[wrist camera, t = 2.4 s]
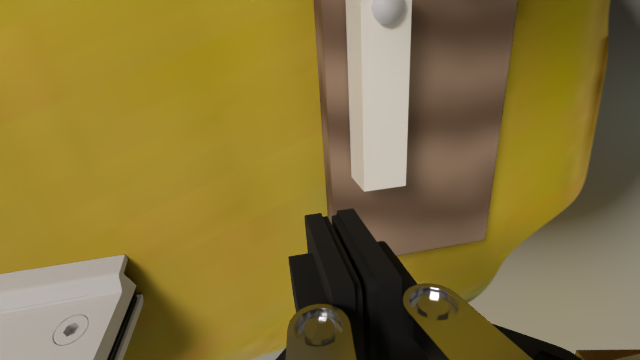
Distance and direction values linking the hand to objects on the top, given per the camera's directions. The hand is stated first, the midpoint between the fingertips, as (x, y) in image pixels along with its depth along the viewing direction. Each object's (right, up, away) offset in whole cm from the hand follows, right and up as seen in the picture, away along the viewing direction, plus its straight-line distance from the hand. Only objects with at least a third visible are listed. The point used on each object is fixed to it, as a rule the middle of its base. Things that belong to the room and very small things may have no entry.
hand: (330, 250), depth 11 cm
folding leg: (+3, +9, +11) cm, 15 cm away
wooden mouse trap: (+7, +8, +15) cm, 18 cm away
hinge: (-24, -8, +15) cm, 29 cm away
